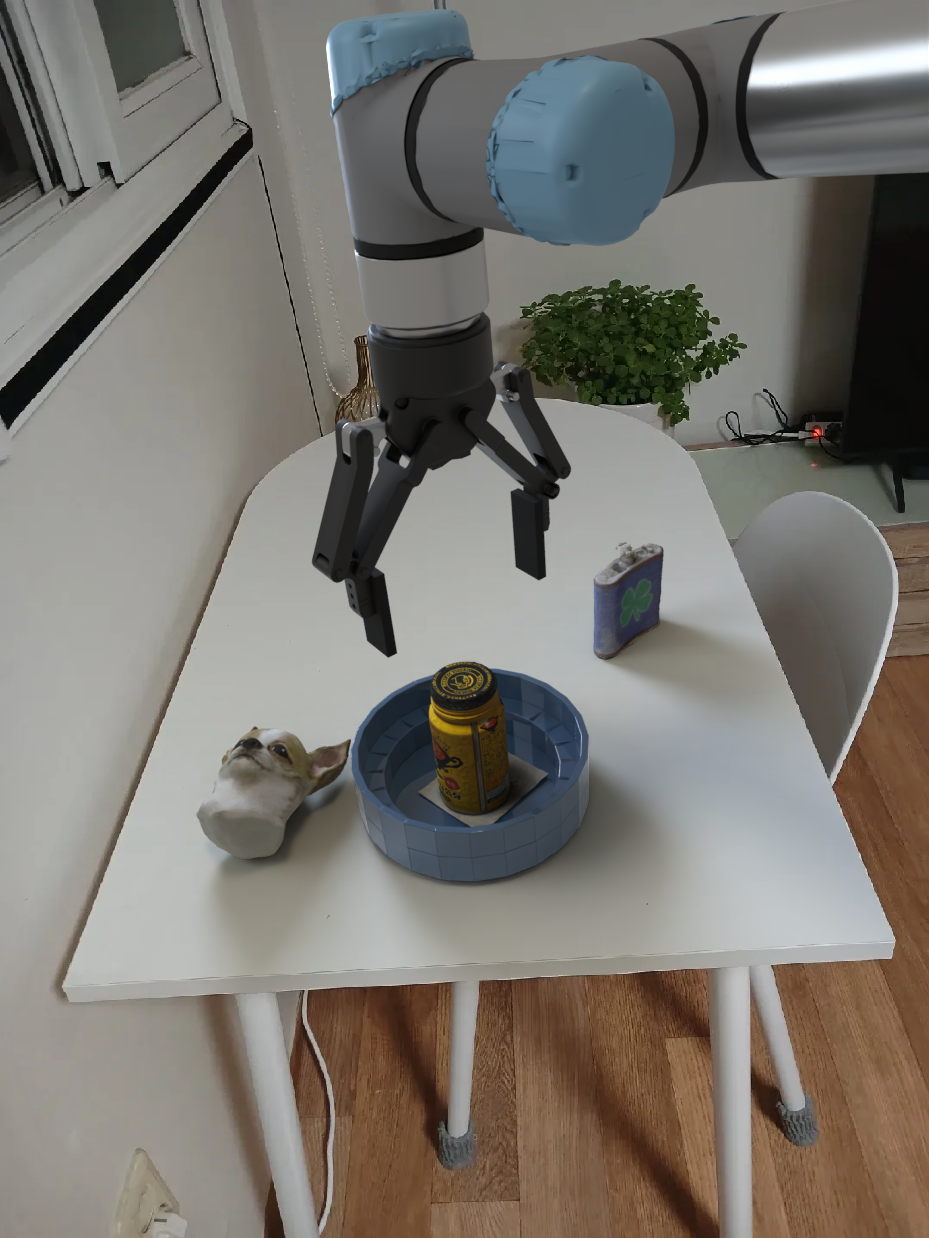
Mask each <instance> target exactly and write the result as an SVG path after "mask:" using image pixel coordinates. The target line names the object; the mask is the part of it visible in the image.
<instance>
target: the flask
mask: <svg viewBox="0 0 929 1238" xmlns="http://www.w3.org/2000/svg"><path fill="white" fill-rule="evenodd" d="M618 547H621V548H620V551H619V552H620V553H619V554H618V555H617V558H615V559H613V560H612V561H611V562H610V563H608V564H607V565H606V566H605V567H604V568H603V569H601V570H600V571H599V572H598V573H597V574H596V575H595V577H594V578H593V652H594V655H595V656H596V657H599V658H602V659H603V660H606V659H607V660H608V658H612V657H616V656H617V655H619V654H621V651H622V650H624V649H625V648H627V647H630V646H631V645H634V643H636V642H637V639H638V637H643V636H644V635H645V633H647V632H651V631H652V629H653V628H654V629H655V628H656V627H658V626H660V604H661V596H662V581H663V580H662V579H663V568H664V555H665V554H664V552H665V550H664V547H663V546H661V545H658V544H657V543H656V544H655V543H652V542H651V543H649V542H648V543H645V544H641V545H640V546H639V547H637V548H633V546H632V545H631V543H628V542H627V541H622V542H618V543H617V546H616V547H614V549H615V550H618Z"/></svg>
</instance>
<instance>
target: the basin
mask: <svg viewBox="0 0 929 1238" xmlns="http://www.w3.org/2000/svg"><path fill="white" fill-rule="evenodd" d="M488 668H489V669H491V670H492V671H493V674H494V675H495V677H496V678H497V682H498V684H497V686H498V687H497V688H498V692H499V697H500V698H501V700H502V702H503V704H504V708H505V721H506V733H507V745H508V752H509V753H510V754H513V755H515V756H516V757H518V758H520V759H521V760H523V761H525V762H527V763H529V764H531V765H533V766H534V767H536V768H538V769H540V770H543V771H545V772H546V773H549V774H547V775H546V776H545V777H544V778H543V779H541V780H540V781H539V782H538V784H537V785H536V786H535V787H534V788H532V789H531V790H530V791H529V792H528V793H527V794H525V795H524V796H522V797H521V798H520V799H519V801H518V802H517V803H515V804H514V805H513V806H512V807H511V808H510V809H509V810H508V811H507V812H506V813H505V814H504V815H502V816H501V817H499V819H498V820H497V821H495V822H494V823H493V824H489V825H482V826H476V827H470V826H469V825H468V824H465V823H464V822H462V821H460V820H459V819H457V818H456V817H454V816H453V815H451V814H450V813H448V812H446V811H445V810H443V809H442V808H441V807H439V806H437V805H436V804H435V803H433V802H432V801H431V800H429V799H428V798H426V797H425V796H423V795H422V794H420V793H419V792H418V791H420V790H422V789H423V788H425V787H426V786H427V785H428V784H429V783H431V782H432V781H434V780H435V779H436V778H437V772H436V765H435V756H434V749H433V741H432V734H431V728H430V723H429V709H430V705H431V692H430V681H431V680H432V678H433V676H434V674H435V673H434V674H430V675H428V676H424V677H421V678H418V679H415V680H413V681H411V682H409V683H407V684H405V685H403V686H401V687H399V688H397V689H395V690H394V691H393V692H390V693H389V694H388V695H386V696H385V697H384V698H383V699H382V700H381V701H380V702H378V703H377V704H376V705H375V706H373V707H372V708H371V709H370V711H369V712H368V713H367V715H366V716H365V718H364V719H363V721H362V722H361V723H360V725H359V726H358V727H357V728H356V729H357V730H356V732H355V735H354V738H353V742H352V743H351V746H350V767H351V774H352V779H353V784H354V789H355V793H356V799H357V803H358V807H359V813H360V817H361V820H362V822H363V824H364V827H365V829H366V831H367V833H368V836H369V838H370V839H371V841H373V843H374V844H375V845H376V846H377V847H378V848H379V849H380V850H381V852H382V853H384V854H385V855H386V857H388V858H389V859H391V860H393V861H395V862H396V863H398V864H400V865H401V866H403V867H404V868H407V869H408V870H410V871H412V872H415V873H418V874H421V875H425V876H428V877H432V878H434V879H438V880H443V881H456V882H457V881H460V882H479V881H487V880H492V879H498V878H505V877H509V876H511V875H514V874H517V873H520V872H522V871H524V870H527V869H530V868H532V867H535V866H537V865H539V864H541V863H542V862H543V861H544V860H546V859H548V858H549V857H551V856H552V855H553V854H555V853H556V852H558V851H559V850H561V849H562V848H563V847H564V845H566V843H567V842H568V841H569V840H570V839H571V838H572V836H573V835H574V834H575V833H576V831H578V829H579V828H580V826H581V824H582V821H583V819H584V817H585V814H586V812H587V810H588V806H589V798H590V736H589V732H588V729H587V727H586V724H585V720H584V718H583V715H582V714H581V713H580V711H579V710H578V709H577V707H576V706H575V705H574V703H572V702H571V700H570V698H568V697H567V696H566V695H565V694H563V693H562V692H560V691H559V690H558V689H557V688H555V687H554V686H552V685H551V684H549V683H547V682H545V681H543V680H540V679H538V678H536V677H533V676H531V675H529V674H526V673H521V672H517V671H512V670H506V669H502V668H501V669H500V668H493V667H492V668H490V667H488Z"/></svg>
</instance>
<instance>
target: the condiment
mask: <svg viewBox="0 0 929 1238" xmlns="http://www.w3.org/2000/svg"><path fill="white" fill-rule="evenodd" d="M489 668H490V667H488V666H486V665H485V664H483V663H479V662H476V661H457V662H453V663H449V664H446V665H445V666H443V667H441V668H440V669H438V670H437V671H436V672H434V676H433V678H432V680H431V681H430V692H431V705H430V709H429V723H430V728H431V734H432V741H433V749H434V756H435V765H436V772H437V778H436V779H435V780H434V781H432V782H431V783H429V784H428V785H427V786H426V787H425V788H423V789H422V790H420V791H418V792H419V793H420V794H422V795H423V796H425V797H426V798H428V799H429V800H431V801H432V802H433V803H435V804H436V805H437V806H439V807H441V808H442V809H443V810H445V811H446V812H448V813H450V814H451V815H453V816H454V817H456V818H457V819H459V820H460V821H462V822H464V823H465V824H468V825H469V826H470V827H476V826H482V825H489V824H493V823H494V822H495V821H497V820H498V819H499V817H501V816H502V815H504V814H505V813H506V812H507V811H508V810H509V809H510V808H511V807H512V806H513V805H514V804H515V803H517V802H518V801H519V799H520V798H521V797H522V796H524V795H525V794H527V793H528V792H529V791H530V790H531V789H532V788H534V787H535V786H536V785H537V784H538V782H539V781H540V780H541V779H543V778H544V777H545V776H546V775H547V774H549V773H546V772H545V771H543V770H540V769H538V768H536V767H534V766H533V765H531V764H529V763H527V762H525V761H523V760H521V759H520V758H518V757H516V756H515V755H513V754H510V753H509V752H508V745H507V733H506V721H505V708H504V704H503V702H502V700H501V698H500V697H499V692H498V688H497V687H498V686H497V684H498V682H497V678H496V677H495V675H494V674H493V671H492V670H491V669H489Z"/></svg>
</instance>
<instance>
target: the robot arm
mask: <svg viewBox="0 0 929 1238" xmlns="http://www.w3.org/2000/svg"><path fill="white" fill-rule="evenodd" d="M326 58H327V65H328V67H327V68H328V76H329V84H330V93H331V103H330V104H329V109H330V110H329V113H330V118H331V119H332V122H333V127H334V133H335V139H336V146H337V152H338V158H339V165H340V170H341V176H342V183H343V188H344V194H345V202H346V206H347V212H348V220H349V225H350V226H349V227H350V231H351V236H352V241H353V246H354V255H355V262H356V269H357V275H358V282H359V288H360V295H361V301H362V309H363V316H364V318H365V319H366V320H367V321H368V322H369V323H371V324H370V325H369V327H368V329H367V330H366V340H367V347H368V354H369V360H370V366H371V374H372V380H373V383H374V387H375V390H376V392H377V395H378V399H379V404H378V411H377V414H376V417H374V418H371V419H366V420H362V421H357V422H354V421H352V420H350V419H349V418H340V419H339V420H338V421H337V422H336V424H335V426H334V427H335V428H334V434H335V448H336V449H335V450H336V458H335V463H334V466H333V471H332V475H331V478H330V483H329V487H328V492H327V495H326V500H325V503H324V509H323V513H322V515H321V521H320V526H319V529H318V533H317V537H316V541H315V545H314V548H313V554H312V558H311V565H312V566H313V567H314V568H315V569H316V570H317V571H318V572H320V573H321V574H323V575H324V576H325V577H326V578H328V579H329V580H331V582H333V583H336V584H339V583H342V582H343V581H344V584H345V592H346V595H347V601H348V606H349V608H350V609H351V610H352V612H354V613H355V614H356V615H358V616H359V617H360V618H361V619H362V620H363V626H364V631H365V632H364V633H365V638H366V642H368V643H369V644H370V645H371V646H373V647H374V648H375V649H377V650H378V651H379V652H380V653H381V654H382V655H384V656H385V657H386V658H388V659H389V658H391V657H393V656H394V655H397V654H398V649H397V643H396V637H395V630H394V625H393V618H392V612H391V606H390V599H389V594H388V588H387V587H388V586H387V582H386V581H387V580H386V575H385V573H384V572H383V571H382V570H380V569H378V568H377V567H376V566H377V563H378V561H379V559H380V558H381V556H382V553H383V551H384V549H385V547H386V545H387V543H388V541H389V539H390V536H391V535H392V532H393V531H394V528H395V526H396V524H397V522H398V520H399V518H400V516H401V514H402V512H403V509H404V508H405V505H406V503H407V502H408V499H409V497H410V496H411V493H412V491H413V490H414V488H416V487H419V486H420V485H421V484H422V482H423V480H424V479H425V476H426V474H427V473H428V469H429V470H431V471H435V470H438V469H441V468H442V467H444V466H445V465H447V464H448V463H449V462H451V461H452V460H461V459H464V458H467V457H470V456H471V455H472V453H471V451H472V450H473V449H474V448H475V447H476V448H477V449H478V450H479V451H480V452H482V453H483V455H485V456H486V457H488V458H489V459H490V460H491V461H492V462H493V463H495V465H497V466H498V467H499V468H500V469H501V470H502V471H504V472H505V473H506V474H507V475H509V476H510V477H511V478H512V479H513V480H514V481H515V482H516V483H518V484H519V485H520V486H522V488H519V487H517V488H515V489H513V490H511V491H510V506H511V520H512V537H513V549H514V564H515V568H517V569H518V570H520V571H522V572H523V573H525V574H526V575H528V576H530V577H531V578H534V579H535V580H536V581H541V580H542V579H545V578H547V563H546V543H545V542H546V541H545V532H547V531H549V528H550V524H551V517H550V516H551V515H550V513H551V512H550V501H551V500H553V501H554V500H555V499H557V498H558V496H559V495H560V492H561V486H560V484H558V483H557V481H558V480H560V479H561V480H566V479H568V478H569V476H570V475H571V472H572V466H571V464H570V462H569V460H568V458H567V456H566V455H565V452H564V451H563V449H562V447H561V445H560V443H559V441H558V440H557V438H556V436H555V434H554V432H553V430H552V428H551V427H550V424H549V422H548V421H547V419H546V417H545V415H544V413H543V411H542V409H541V408H540V405H539V404H538V402H537V400H536V398H535V394H534V388H533V387H534V386H533V380H532V374H531V371H530V370H529V369H528V368H525V367H522V366H519V365H517V364H514V363H511V362H508V361H505V360H498V361H497V362H496V364H494V352H493V351H494V350H493V337H492V327H491V325H492V324H491V319H490V317H489V315H487V314H486V312H485V310H487V308H488V307H489V303H490V290H489V289H490V288H489V278H488V277H489V276H488V266H487V255H486V254H487V253H486V243H485V229H488V230H492V231H496V232H500V233H501V232H502V233H507V234H511V235H516V236H522V237H526V238H531V239H533V240H534V241H536V242H539V243H546V242H547V243H548V244H550V245H552V246H560V247H561V246H563V247H565V246H566V247H569V246H571V245H578V246H579V245H583V246H594V247H602V246H612V245H615V244H618V243H620V242H623V241H626V240H627V239H629V238H631V237H632V236H633V235H634V234H635V233H636V232H637V231H638V230H640V227H641V224H642V223H643V221H644V220H645V219H646V218H647V217H649V216H650V215H652V214H653V213H654V212H655V211H656V210H657V208H658V207H659V205H660V203H661V201H662V200H663V199H666V198H669V197H671V196H673V195H675V194H676V195H677V194H681V193H683V192H686V191H690V190H693V189H697V188H700V187H704V186H709V185H717V184H727V183H743V182H744V183H746V182H747V183H749V182H765V181H775V180H786V179H797V178H798V179H801V178H821V177H844V176H845V177H847V176H848V177H849V176H869V175H870V176H871V175H896V174H918V173H920V174H923V173H929V0H832V1H827V2H823V3H817V4H812V5H806V6H801V7H796V8H794V9H791V10H787V11H782V12H770V13H765V14H760V15H755V14H753V15H751V14H749V15H744V16H738V17H737V16H736V17H732V18H728V19H723V20H718V21H715V22H712V23H709V24H707V25H702V26H696V27H692V28H687V29H682V30H678V31H674V32H669V33H665V34H661V35H656V36H651V37H642V38H641V37H640V38H637V39H632V40H627V41H622V42H615V43H611V44H610V43H609V44H605V45H599V46H594V47H589V48H584V49H577V50H573V51H568V52H564V53H558V54H553V55H547V56H541V57H540V56H539V57H531V58H529V57H528V58H507V59H506V58H505V59H501V58H500V59H478V58H477V59H476V58H475V53H474V49H473V48H472V44H471V38H470V31H469V25H468V23H467V20H466V18H465V17H464V15H463V14H462V13H461V12H459V11H457V10H455V9H448V8H439V9H438V8H436V9H422V10H409V11H403V12H402V11H401V12H392V13H383V14H376V15H369V16H361V17H356V18H351V19H347V20H343V21H341V22H339V23H337V24H336V25H335V26H334V27H333V28H332V29H331V31H330V32H329V33H328V36H327V39H326ZM496 399H497V400H499V402H500V404H501V406H502V408H503V409H504V411H505V414H506V415H507V416H508V418H509V420H510V422H511V423H512V425H513V427H514V429H515V430H516V432H517V433H518V436H519V438H520V439H521V441H522V443H523V444H524V446H525V448H526V450H527V452H528V453H529V455H530V457H531V458H532V460H533V462H534V463H535V465H534V464H533V463H532V462H531V461H530V460H529V459H528V458H526V457H525V456H524V455H523V454H522V453H521V452H520V451H519V450H518V449H516V447H514V445H512V444H511V443H510V442H509V441H508V440H507V439H506V436H505V435H503V434H502V432H500V430H498V428H496V427H495V426H494V425H493V424H491V422H489V420H488V418H489V416H490V414H491V411H492V409H493V406H494V404H495V402H496ZM383 439H384V440H385V441H386V442H385V445H384V447H383V449H382V451H381V449H380V443H381V442H382V440H383ZM378 456H379V457H378ZM375 457H378V459H377V468H378V470H377V473H376V475H375V477H374V479H373V474H374V469H375V468H374V466H375ZM402 457H404V459H405V460H406V461H408V464H407V465H406V466H405V467H404V466H403V465H401V464H400V461H401V458H402ZM372 479H373V481H372Z"/></svg>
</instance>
